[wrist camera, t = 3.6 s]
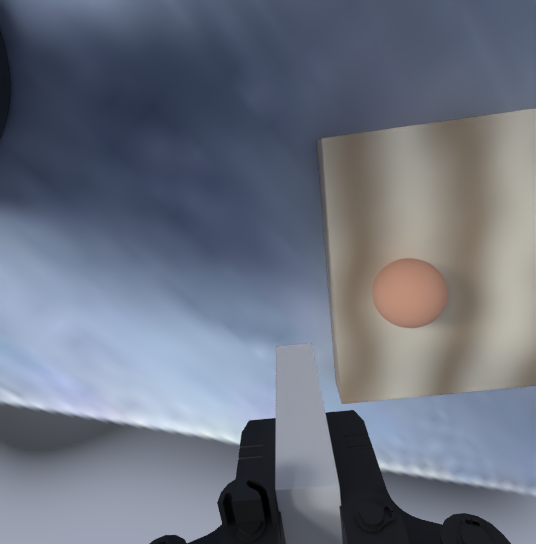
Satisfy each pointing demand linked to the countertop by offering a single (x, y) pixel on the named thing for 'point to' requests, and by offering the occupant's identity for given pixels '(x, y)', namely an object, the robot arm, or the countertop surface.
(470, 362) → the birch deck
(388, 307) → the ball
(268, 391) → the countertop surface
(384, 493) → the robot arm
